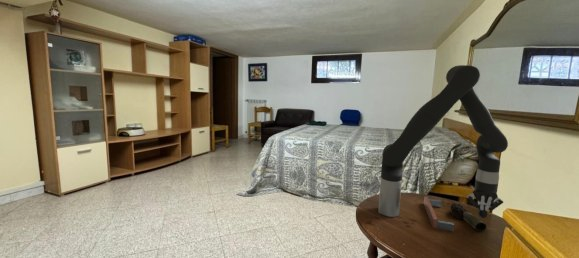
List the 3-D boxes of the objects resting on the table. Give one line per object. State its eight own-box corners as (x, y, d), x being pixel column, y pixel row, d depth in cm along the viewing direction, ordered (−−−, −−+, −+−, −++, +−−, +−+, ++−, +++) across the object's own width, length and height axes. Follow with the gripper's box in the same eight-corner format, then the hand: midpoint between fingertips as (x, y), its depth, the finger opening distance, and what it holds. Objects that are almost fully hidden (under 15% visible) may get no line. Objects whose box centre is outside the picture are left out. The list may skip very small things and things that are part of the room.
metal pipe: (486, 232, 99) (488, 219, 98) (470, 232, 99) (471, 219, 98) (458, 211, 116) (459, 200, 115) (444, 210, 116) (445, 200, 116)
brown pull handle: (432, 227, 101) (433, 219, 101) (423, 203, 123) (424, 196, 123) (453, 231, 99) (454, 222, 98) (440, 206, 121) (441, 198, 120)
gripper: (471, 180, 101) (466, 218, 103) (510, 185, 96) (504, 224, 98) (465, 175, 108) (461, 210, 110) (502, 179, 103) (496, 216, 105)
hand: (481, 217), depth 104 cm, fingers closed
